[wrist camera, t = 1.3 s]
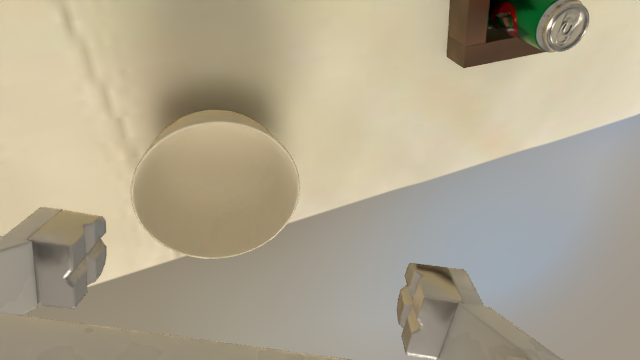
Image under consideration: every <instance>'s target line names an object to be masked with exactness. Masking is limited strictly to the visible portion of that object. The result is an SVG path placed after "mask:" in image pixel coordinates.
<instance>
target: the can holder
mask: <svg viewBox="0 0 640 360" xmlns="http://www.w3.org/2000/svg"><path fill="white" fill-rule="evenodd" d="M489 5H490V0H450V13H449V31H448V47H447V57H448V58H449V59H451V60H452V61H454V62H455V63H457V64H458V65H460V66H461V67H463V68H467V67H472V66H477V65H482V64H487V63H492V62H497V61H502V60H507V59H512V58H517V57H522V56H527V55H532V54H537V53H542V52H545V51H543V50H540V49H538V48H536V47H534V46H532V45H530V44H528V43H526V42H524V41H521V40H519V39H517V38H515V37H513V36H511V35H509V34H507V33H505V32H502V31H500V30H498V29H496V28H492V29H487V24H488V15H489Z"/></svg>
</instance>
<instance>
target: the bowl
mask: <svg viewBox="0 0 640 360" xmlns="http://www.w3.org/2000/svg"><path fill="white" fill-rule="evenodd" d="M299 192H300V181H299V174H298V171H297V168H296V165H295V163H294V161H293V159H292V157H291V155H290V154H289V153H288V151H287V150H286V149H285V147H284V146H283V145H282V144H281V143H280V142H279V141H278V140H277V139H276V138H275V137H274V136H273V135H272V134H271V133H270V132H269V131H268V130H266V129H265V128H264V127H263V126H262V125H260V124H259V123H257V122H256V121H254V120H252V119H251V118H249V117H247V116H244V115H242V114H239V113H236V112H232V111H226V110H205V111H199V112H195V113H192V114H189V115H186V116H184V117H182V118H180V119H178V120H177V121H175V122H173V123H172V124H171V125H169V126H168V127H167V128H166V129H165V130H163V131H162V132H161V134H160V135H159V136H158V137H157V138H156V139H155V140H154V142H153V143H152V144H151V146H150V147H149V148H148V150H147V151H146V152H145V154H144V155H143V157H142V158H141V160H140V162H139V163H138V165H137V167H136V170H135V173H134V175H133V179H132V184H131V200H132V206H133V209H134V212H135V214H136V217H137V219H138V221H139V222H140V224H141V225H142V227H143V228H144V229H145V231H146V232H147V233H148V234H149V235H150V236H151V237H152V238H154V239H155V240H156V241H157V242H159V243H160V244H162V245H163V246H165V247H167V248H169V249H171V250H173V251H175V252H178V253H181V254H184V255H188V256H192V257H198V258H210V259H212V258H225V257H232V256H237V255H240V254H243V253H246V252H249V251H251V250H254V249H256V248H258V247H260V246H262V245H263V244H265V243H267V242H268V241H270V240H271V239H272V238H274V237H275V236H276V235H277V234H278V233H279V232H280V231H281V230H282V229H283V228H284V227H285V225H286V224H287V223H288V221H289V220H290V218H291V217H292V215H293V213H294V211H295V209H296V206H297V203H298V198H299Z"/></svg>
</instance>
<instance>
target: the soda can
mask: <svg viewBox="0 0 640 360" xmlns="http://www.w3.org/2000/svg"><path fill="white" fill-rule="evenodd" d="M588 24H589V14H588V11H587V9H586V8H585V7H584V6H583V4H582V3H581V1H580V0H490V5H489V15H488V25H490V26H492V27H494V28H496V29H498V30H500V31H502V32H505V33H507V34H509V35H511V36H513V37H515V38H517V39H519V40H521V41H524V42H526V43H528V44H530V45H532V46H534V47H536V48H538V49H540V50H543V51H545V52H556V51H557V52H562V51H566V50H568V49H570V48H572V47H573V46H575V45H576V44H577V43H578V42H579V41H580V40H581V39H582V37H583V36H584V34H585V32H586V30H587V27H588Z"/></svg>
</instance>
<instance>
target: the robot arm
mask: <svg viewBox="0 0 640 360" xmlns="http://www.w3.org/2000/svg"><path fill="white" fill-rule="evenodd" d="M105 232H106V222H105V219H104V218H103V216H97V215H91V214H85V213H79V212H73V211H67V210H62V209H55V208H47V207H40V208H39V209H38V210H36V211H35V212H34V213H33V214H31V215H30V216H29V217H28V218H26V219H25V220H24V221H22V222H21V223H20V224H19V225H17V226H16V227H15V228H14V229H12V230H11V231H10V232H8V233H7V234H6V235H5V236H3V237H2V236H0V360H349V359H342V358H335V357H327V356H319V355H313V354H305V353H297V352H290V351H283V350H275V349H268V348H260V347H253V346H246V345H238V344H231V343H223V342H216V341H208V340H201V339H193V338H186V337H179V336H171V335H164V334H156V333H148V332H142V331H134V330H127V329H119V328H112V327H105V326H96V325H89V324H82V323H74V322H68V321H60V320H53V319H44V318H38V317H30V316H23V315H24V314H26V313H28V312H30V311H31V310H33V309H35V308H37V307H38V305H39V306H48V307H57V308H66V309H75V308H76V306H77V305H78V304H79V302H80V301H81V300H82V299H83V297H84V296H85V295H86V293H87V285H88V284H91V283H93V282H95V281H96V280H97V279H98V277H99V276H100V275H101V272H102V270H103V267H104V265H105V260H106V245H105V244H104V243H103V241H102V240H101V239H100V238H101V237H102V236H103V235H104V234H105ZM405 279H406V282H407V285H406V286H405V287H403V288H402V289H401V291H400V294H399V298H398V305H397V317H398V321H399V325H401V327H403V328H404V329H403V333H402V340H403V344H404V349H405V353H406V355H411V356H417V357H423V358H429V359H435V360H562V359H561V358H559V357H558V356H557V355H555V354H554V353H553V352H551V351H550V350H548V349H547V348H546V347H544V346H543V345H541V344H540V343H539V342H537V341H536V340H535V339H533V338H532V337H530V336H529V335H527V334H526V333H525V332H524V331H522V330H521V329H519V328H518V327H517V326H515V325H514V324H512V323H511V322H510V321H508V320H507V319H506V318H504V317H503V316H501V315H500V314H499V313H497V312H496V311H494V310H493V309H492V308H490V307H485V306H484V305H483V303H482V301H481V299H480V297H479V295H478V293H477V291H476V289H475V287H474V285H473V283H472V281H471V279H470V277H469V275H468V273H467V272H466V271H465V270H464V269H456V268H446V267H439V266H430V265H421V264H414V263H410V264H409V265H408V267H407V270H406V273H405Z"/></svg>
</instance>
